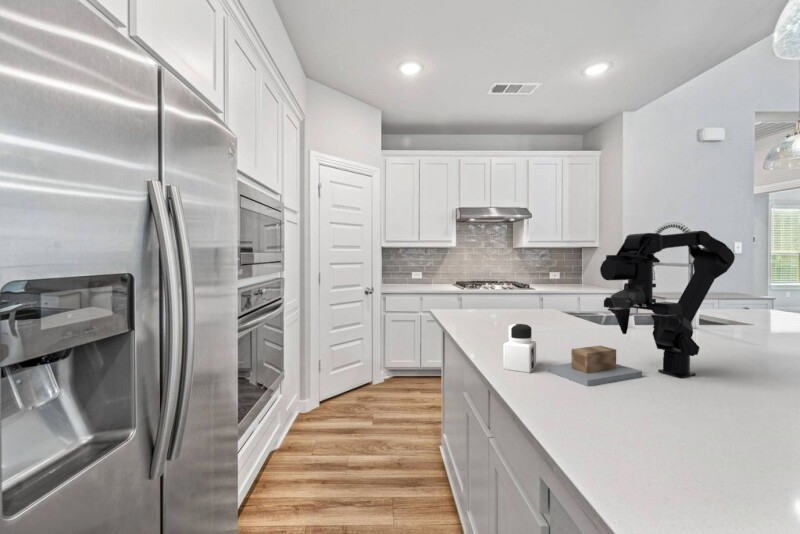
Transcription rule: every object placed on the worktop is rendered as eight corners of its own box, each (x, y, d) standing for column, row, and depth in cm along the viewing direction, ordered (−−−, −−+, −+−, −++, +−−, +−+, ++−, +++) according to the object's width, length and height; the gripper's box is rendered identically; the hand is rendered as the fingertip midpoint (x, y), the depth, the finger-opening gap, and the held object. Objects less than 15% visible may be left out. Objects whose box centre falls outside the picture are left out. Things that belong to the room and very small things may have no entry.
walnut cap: (599, 364, 114) (599, 345, 114) (616, 369, 109) (616, 349, 109) (571, 368, 110) (571, 349, 110) (587, 373, 105) (587, 353, 105)
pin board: (599, 363, 120) (599, 347, 119) (642, 376, 107) (642, 358, 106) (547, 371, 112) (547, 354, 112) (587, 386, 99) (587, 366, 99)
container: (536, 366, 117) (536, 323, 117) (529, 373, 111) (529, 327, 110) (510, 363, 121) (510, 321, 121) (503, 369, 115) (502, 325, 114)
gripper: (589, 278, 111) (589, 333, 112) (653, 282, 94) (652, 347, 94) (617, 277, 115) (617, 330, 116) (683, 281, 98) (683, 342, 98)
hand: (639, 337), depth 106 cm, fingers open, 9 cm apart
